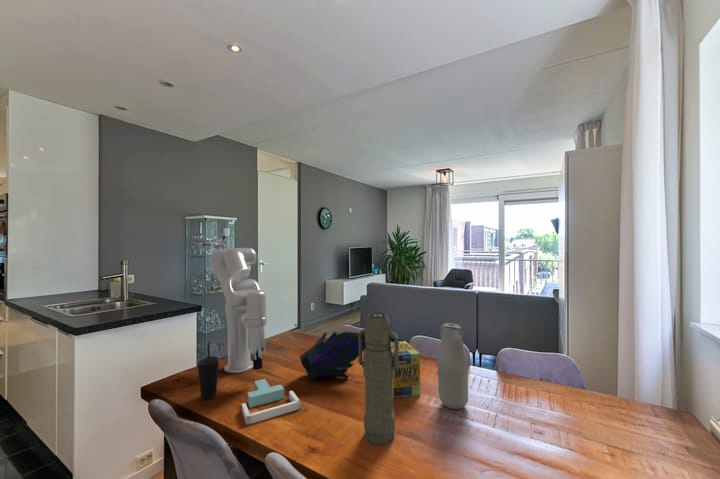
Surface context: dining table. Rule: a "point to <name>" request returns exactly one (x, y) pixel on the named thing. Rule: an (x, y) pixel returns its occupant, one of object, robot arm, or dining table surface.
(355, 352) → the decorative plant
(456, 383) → the pale grey bottle
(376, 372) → the thermos
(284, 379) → the dining table surface
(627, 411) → the dining table surface
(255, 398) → the t block
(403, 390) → the protein box
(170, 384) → the dining table surface
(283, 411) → the dock
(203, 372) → the drinking cup
